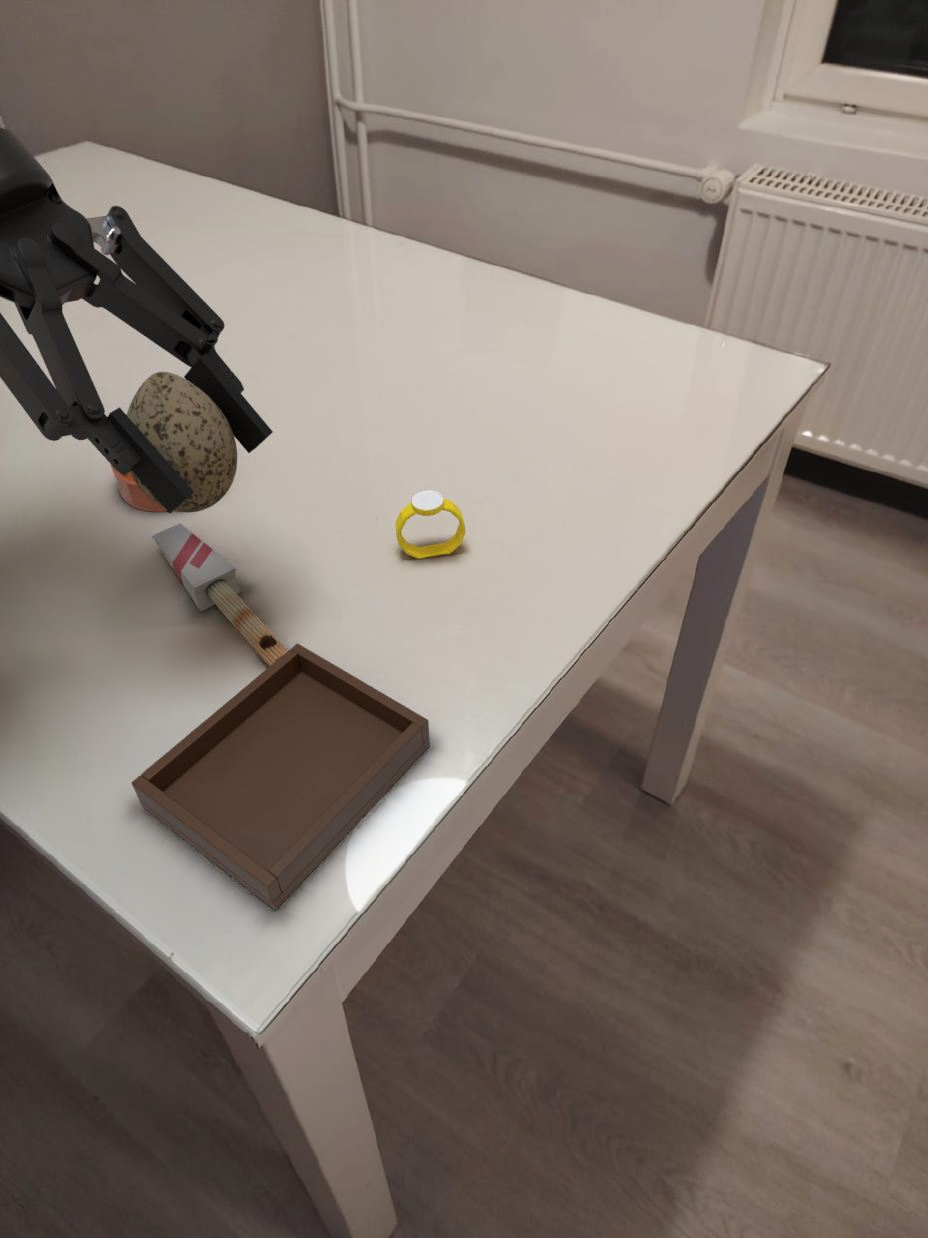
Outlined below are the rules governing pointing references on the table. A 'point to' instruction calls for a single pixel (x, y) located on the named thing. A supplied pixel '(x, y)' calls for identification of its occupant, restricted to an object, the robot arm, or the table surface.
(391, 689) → the table surface
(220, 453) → the decorative egg
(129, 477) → the shallow dish
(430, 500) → the watch
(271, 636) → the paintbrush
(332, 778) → the tray
